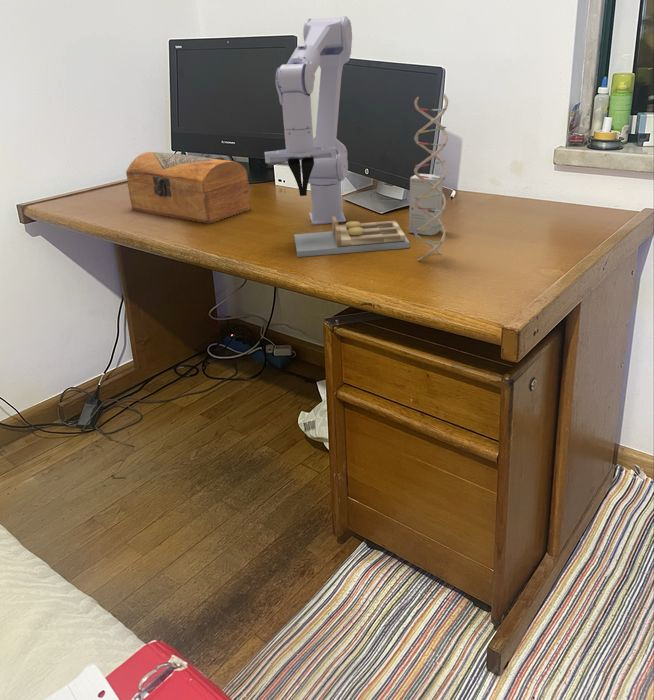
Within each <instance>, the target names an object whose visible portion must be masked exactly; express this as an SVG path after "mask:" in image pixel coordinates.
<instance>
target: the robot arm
mask: <svg viewBox="0 0 654 700" xmlns="http://www.w3.org/2000/svg"><path fill="white" fill-rule="evenodd" d="M302 36H303V41H304V42H303V43H298V45H297V47H296V48H295V49H294V51H293V53H292V54H291V56H290V58H289V59H288V61H287V62H286V64H281V65H280V66H279V67H277V68H276V73H275V88H276V91H277V94H278V99H279V105H281V106H282V119H283V129H284V130H283V131H284V140H285V141H284V142H285V149H278V150H272V151H264V160H265V164H270V163H275V162H276V163H277V162H278V163H279V162H287V164H288V167H289V169H290V172H291V173H292V175H293V176H294V179H295V182H296V184H297V188H298V192H299V196H300V197H305V196H308V194H307V193H308V186H309V189H310V201H311V204H310V205H311V212H308V213H309V218H310V221H311V225H324V224H332V217H334V216H335V217H336V219H337V222H338V223H347V219H346V216H345V214H344V212H343V200H342V199H343V197H342V193H343V192H342V181H344V180H345V179H346V178H347V175H348V169H349V163H348V162H349V161H348V149H347V147H346V145H345V144H343V142H341V141H340V140H339V139H338V138H337V136H338V134H337V133H338V124H339V123H338V122H339V110H340V108H339V107H340V98H341V97H340V96H341V85H342V84H341V83H342V74H343V67H344V65H345V64H346V63H348V62H349V61H350V59H351V54H352V46H353V45H352V44H353V29H352V22H351V20H350V19H349V17H348V16H345V15H344V16H342V17H341V16H340V17H328V18H325V17H324V18H307V19H306V21H305V22H304V25H303V32H302ZM318 68H320V76H319V77H320V78H319V92H318V100H317V115H316V126H315V136H314V131H313V116H312V101H311V100H312V99H311V95H312V93H313V92H314V88H315V87H314V86H315V79H316V75H315V74H316V71H317V70H318Z"/></svg>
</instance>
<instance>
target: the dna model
mask: <svg viewBox="0 0 654 700" xmlns="http://www.w3.org/2000/svg"><path fill="white" fill-rule="evenodd" d="M442 96H443V99H444V101H445V102H444V103H445V104H444V106H443V108H432V109H431V111H434V112H435V111H436V112H439V113H438V114H437V115H436V116H435V117H432V116H431V115H430V114H428V113H427V112H425V111H430V109H429V108H421V107H419V105H418V102H419V101H418V100H419V98H420V97H419V96H417V97H416V98H415V99H414V102H413V103H414V104H413V105H414V109H415V110H416V111H418V112H419V114H422V116H424V117H425V118H426V119H428V120H430V121H428V122H427V124H425V125H424V126H423V127H421V128H420V129H419V130H417V131H416V132H415V135H414V138H413V140H414V142H415V144H416V145H418V146H419V147H421V148H422V149H424V150H425V151H426V152H428V154H430V155H429V156H428V157H426V158H425V159H424V160H422V161H421V162H420V163H419V164H415V165H414V166H415V167H414V169H413V173H414V175H416V176H417V177H418V178H420V179H421V180H423V181H424V182H426V183H427V184H429V185H430V186H432V187H431V189H430V190H428V191H426V192H425V193H423V194H422V195H421V196H419V197H418V198H415V199H416V200H415V201H414V205H415V207H416V208H418V209H419V210H421V211H422V212H424V213H426V214H427V215H429V217H432V218H433V219H430V221H429V222H427V223H426V224H424V225H423V226H421V227H420V228H418V229H415V232H414V233H413V234H414V237H415V238H416V239H418V240H420V241H422V243H425V244H426V245H428V246H429V247H430V248H432V249H430V251H428V252H426V253H425V254H423V255H421V256H420V257H419V258H418V257H417V259H416V260H417V261H418V262H419V261H421V260H423V259H425V258H426V257H429V256H430V255H431V254H433V253H434V252H436V253H438V254H439V255H442V253H443V252H441V251H440V250H439V248H440V247H441V246H442V244H443V243H444V241H445V238H446V228H445V225H444V223H442V221H441V222H440V220H439V219H438V218H439V217H440V215H441V216H442V214H443V213H444V212H445V210H446V207H447V199H446V196H445V193H444V192H443V190H442V191H441V190H440V189H439V188H437V187H438V186H439V185H440V184H441V183H442V182H443V183H444V181H445V180H446V176H447V172H448V169H447V166H446V163H445V162H446V161H447V160H446V159H442V158H441V157H440V156H439V155H438V154H439V153H441V151H443V149H444V148H445V146H446V145H447V142H448V133H447V131H446V128H447V126H444V125H442V124H441V123H440V122H439V121H438V120H439V119H440V118H441V117H443V115H444V114H445V112H446V111H447V109H448V106H449V99H448V96H447V95H446V93H444V94H443V95H442ZM432 124H435V125H436V126H437V127H438V128H435V129H428V130H427V128H429V127H430V126H431V125H432ZM440 130H441V131H442V133H443V136H444V139H443V143H442V144H441V143H440V144H438V143H429V142H420V141H419V134H424V133H428V132H436V131H440ZM426 145H427V146H428V145H430V146H435V147H439V148H437V149H436V150H435V151H434V150H430V149H429V148H428V147H427V146H426ZM433 158H435V159H436V160H438V161H437V162H432V163H431V165H432V166H433V165H438V164H441V165H442V166H443V173H442V176H443V177H442V178H436V177H432V178H431V179H439V180H440V181H439V182H438V183H436V184H435V185H434V184H433V183H431V182H430V181H428V180H427V179H425V178H429V177H426V176H420V175H419V174H420V173H419V172H418V171H419V170H420V168H422V167H427V166H429V165H430V164H429V163H427V162H429V161H430V160H432V159H433ZM426 163H427V164H426ZM434 189H435V190H436V191H437V192H438V193H439V194H435V195H431V196H426V197H424V196H425V195H427V194H428V193H430V192H431V191H433V190H434ZM438 195H441V197H442V202H443V204H442V207H441V210H435V209H431V210H432V211H437V212H439V213H438V214H437V215H436V216H434V215H433V214H431V213H429V212H428V211H426V210H428V208H421V207H420V206H419V205H418V204H417V202H418V201H419V200H420V199H424V198H428V197H433V196H438ZM424 209H426V210H424ZM435 220H436V221H437V222H438V223H439V225H438V226H434V227H430V228H425V227H426V226H428V225H430V224H431V223H433V222H434V221H435ZM436 227H441V231H442V236H441V239H440V241H436V240H435V241H434V240H431V239H427V238H423V237H421V235H420V234H417V233H418V231H422V230H427V229H431V228H436ZM423 228H425V229H423ZM433 243H434V244H433ZM435 244H436V245H435Z"/></svg>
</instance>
